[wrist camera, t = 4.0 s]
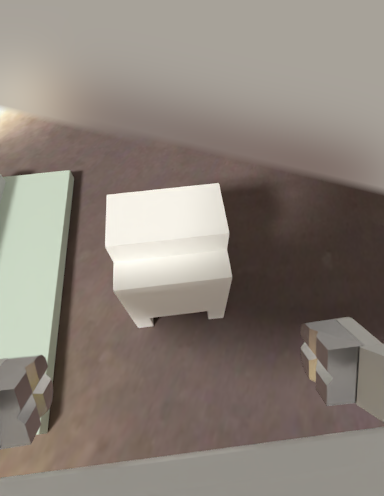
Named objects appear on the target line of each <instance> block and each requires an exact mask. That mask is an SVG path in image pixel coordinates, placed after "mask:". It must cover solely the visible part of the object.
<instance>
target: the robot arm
mask: <svg viewBox="0 0 384 496" xmlns="http://www.w3.org/2000/svg"><path fill="white" fill-rule="evenodd" d="M300 336H301V337H302V339H303V340H304V341H305V342H304V344H303V345H302V347H301V348H300V351H301V361H302V365H303V368H304V371H305V373H306V375H307V376H308V378H309V379H311V380H312V381H314V382H316V390H317V392H318V393H319V395H320V396H321V398H322V399H323V401H324V403H325V404H326V406H331V405H341V404H351V403H356V404H357V405H358V406H360V407H361V408H363V409H364V410H366V411H367V412H369V413H370V414H372V415H373V416H375V417H376V418H378V419H379V420H381V421H382V422H384V344H382V343H381V342H380V341H379V340H378V339H376V338H375V337H374V336H373V335H372V334H370V333H369V332H368V331H367V330H366V329H364V328H363V327H362V326H361V325H360V324H358V323H357V322H356V321H355V320H354V319H352V318H350V317H343V318H337V319H330V320H323V321H317V322H310V323H304V324H301V328H300ZM47 368H48V365H47V361H46V358H45V357H44V356H43V355H33V356H23V357H13V358H3V359H0V449H5V448H11V447H17V446H24V445H30V444H31V443H32V441H33V439H34V437H35V435H36V433H37V432H38V430H39V428H40V426H41V421H40V418H41V417H42V416H43V415H44V414H46V413H47V412H48V410H49V408H50V406H51V404H52V399H53V384H52V379H51V378H50V377H49V376H47V375H46V374H45V372H46V370H47ZM0 496H384V427H379V428H372V429H364V430H357V431H349V432H342V433H334V434H327V435H319V436H312V437H304V438H297V439H289V440H282V441H274V442H267V443H259V444H252V445H244V446H237V447H229V448H222V449H214V450H207V451H199V452H192V453H184V454H176V455H169V456H161V457H154V458H146V459H139V460H131V461H124V462H116V463H109V464H101V465H94V466H86V467H79V468H71V469H64V470H56V471H48V472H41V473H33V474H26V475H18V476H11V477H3V478H0Z"/></svg>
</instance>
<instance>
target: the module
mask: <svg viewBox="0 0 384 496" xmlns="http://www.w3.org/2000/svg"><path fill="white" fill-rule="evenodd" d="M228 239H229V229H228V224H227V219H226V214H225V210H224V205H223V200H222V195H221V191H220V186H219V183H215V184H205V185H196V186H186V187H177V188H167V189H158V190H148V191H139V192H129V193H120V194H110V195H107V205H106V235H105V248H106V250H107V251H108V253H109V255H110V257H111V259H112V260H113V262H114V268H113V291H114V293H115V294H116V296H117V297H118V299H119V300H120V302H121V303H122V305H123V306H124V308H125V309H126V311H127V312H128V314H129V315H130V316H131V318H132V319H133V321H134V322H135V324H136V325H137V327H138V328H142V327H151V326H154V323H153V318H154V317H162V316H171V315H179V314H187V313H196V312H204V311H207V314H208V319H216V318H223V317H224V313H225V308H226V304H227V299H228V295H229V290H230V286H231V281H232V272H231V267H230V262H229V257H228V252H227V246H228Z"/></svg>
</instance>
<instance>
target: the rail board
mask: <svg viewBox="0 0 384 496" xmlns="http://www.w3.org/2000/svg"><path fill="white" fill-rule="evenodd" d="M73 185H74V177H73V175H72V173H71V171H70V170H67V171H57V172H48V173H38V174H28V175H18V176H8V177H2V176H1V174H0V359H3V358H13V357H23V356H33V355H43V356H44V357H45V358H46V361H47V365H48V368H47V370H46V372H45V374H46V375H47V376H49V377H50V378H51V379H52V384H53V375H54V366H55V356H56V347H57V337H58V328H59V318H60V309H61V299H62V290H63V280H64V271H65V261H66V252H67V242H68V233H69V223H70V214H71V204H72V195H73ZM49 413H50V408H49V410H48V412H47V413H46V414H44V415H43V416H42V417H41V418H40V421H41V426H40V428H39V430H38V432H37V433H36V435H37V434H45V433H47V432H48V423H49Z"/></svg>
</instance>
